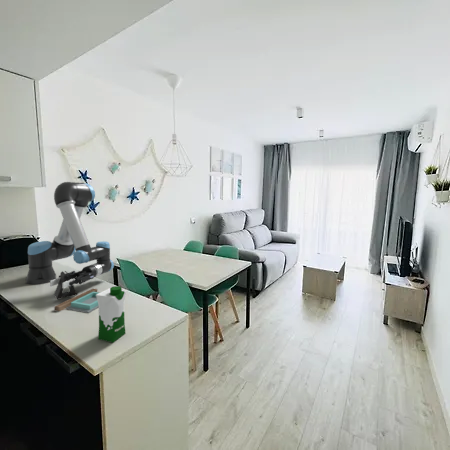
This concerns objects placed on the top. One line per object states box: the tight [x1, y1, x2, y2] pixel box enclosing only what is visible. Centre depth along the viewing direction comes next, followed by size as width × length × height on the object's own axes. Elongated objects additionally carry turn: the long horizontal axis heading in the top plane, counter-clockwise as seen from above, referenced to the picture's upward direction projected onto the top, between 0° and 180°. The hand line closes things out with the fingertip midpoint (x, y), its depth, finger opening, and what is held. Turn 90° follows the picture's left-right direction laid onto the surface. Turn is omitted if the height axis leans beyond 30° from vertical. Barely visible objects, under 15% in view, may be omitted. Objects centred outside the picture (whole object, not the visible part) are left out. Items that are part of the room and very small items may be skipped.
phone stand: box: [53, 270, 78, 300], centre depth 131 cm, size 9×6×12 cm, turn 135°
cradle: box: [65, 291, 100, 314], centre depth 128 cm, size 13×18×3 cm
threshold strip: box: [54, 288, 98, 312], centre depth 130 cm, size 3×24×2 cm, turn 165°
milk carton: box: [96, 285, 127, 344], centre depth 99 cm, size 9×9×20 cm
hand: (56, 284), depth 126 cm, fingers closed on phone stand, 7 cm apart
